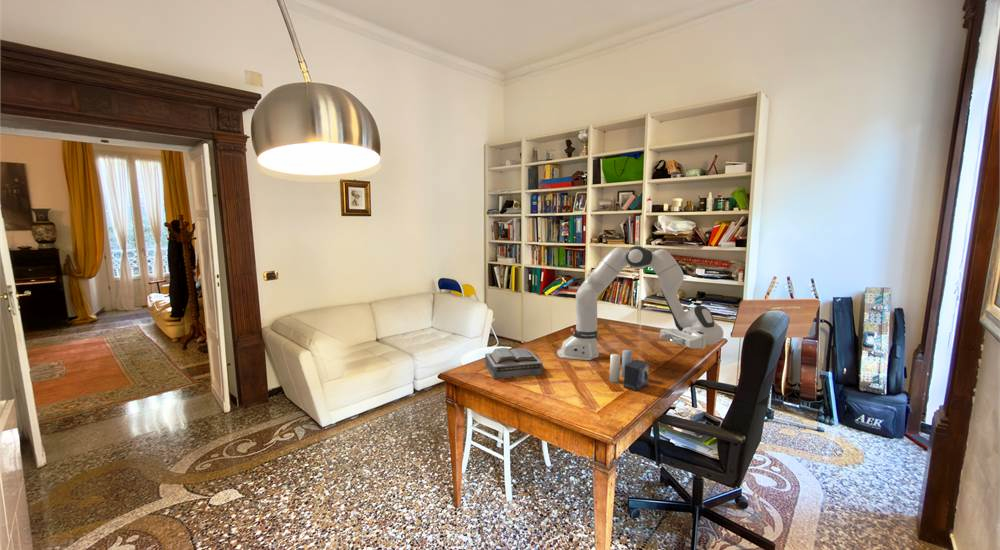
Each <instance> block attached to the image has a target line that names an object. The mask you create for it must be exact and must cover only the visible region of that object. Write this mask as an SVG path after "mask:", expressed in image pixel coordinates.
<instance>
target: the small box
mask: <svg viewBox="0 0 1000 550" xmlns="http://www.w3.org/2000/svg"><path fill="white" fill-rule="evenodd" d="M649 368H650V363H649V362H647V361H645V360H644V361H643V360H640V359H635V360H632V362H630V363H627V364H625V371H624V377H623V388H625V389H628V390H631V391H633V392H637V391H639V390H641V389H643V388H645V387H647V386H648V385H649V371H650V369H649Z"/></svg>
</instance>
